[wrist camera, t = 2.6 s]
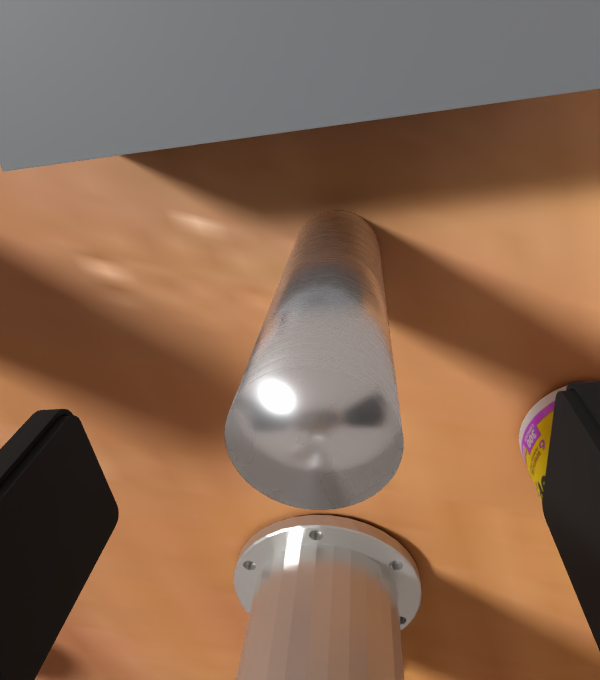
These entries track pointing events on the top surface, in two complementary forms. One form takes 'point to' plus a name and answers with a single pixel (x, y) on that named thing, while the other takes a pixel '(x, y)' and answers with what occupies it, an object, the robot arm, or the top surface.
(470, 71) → the socket block
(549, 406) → the supplement bottle
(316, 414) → the steel pin
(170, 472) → the top surface
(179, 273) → the top surface
